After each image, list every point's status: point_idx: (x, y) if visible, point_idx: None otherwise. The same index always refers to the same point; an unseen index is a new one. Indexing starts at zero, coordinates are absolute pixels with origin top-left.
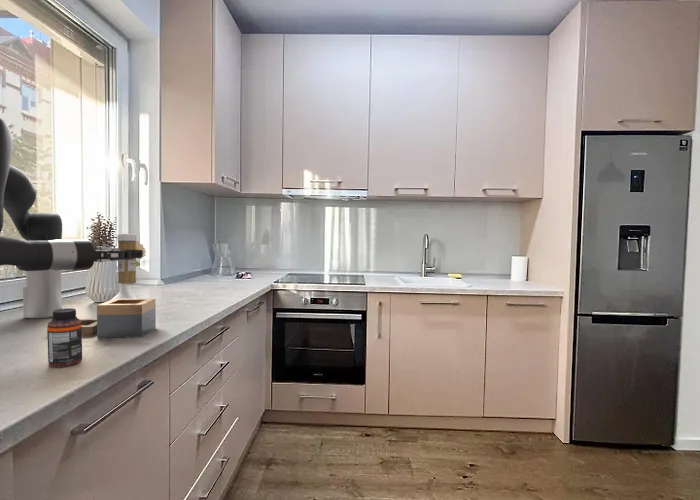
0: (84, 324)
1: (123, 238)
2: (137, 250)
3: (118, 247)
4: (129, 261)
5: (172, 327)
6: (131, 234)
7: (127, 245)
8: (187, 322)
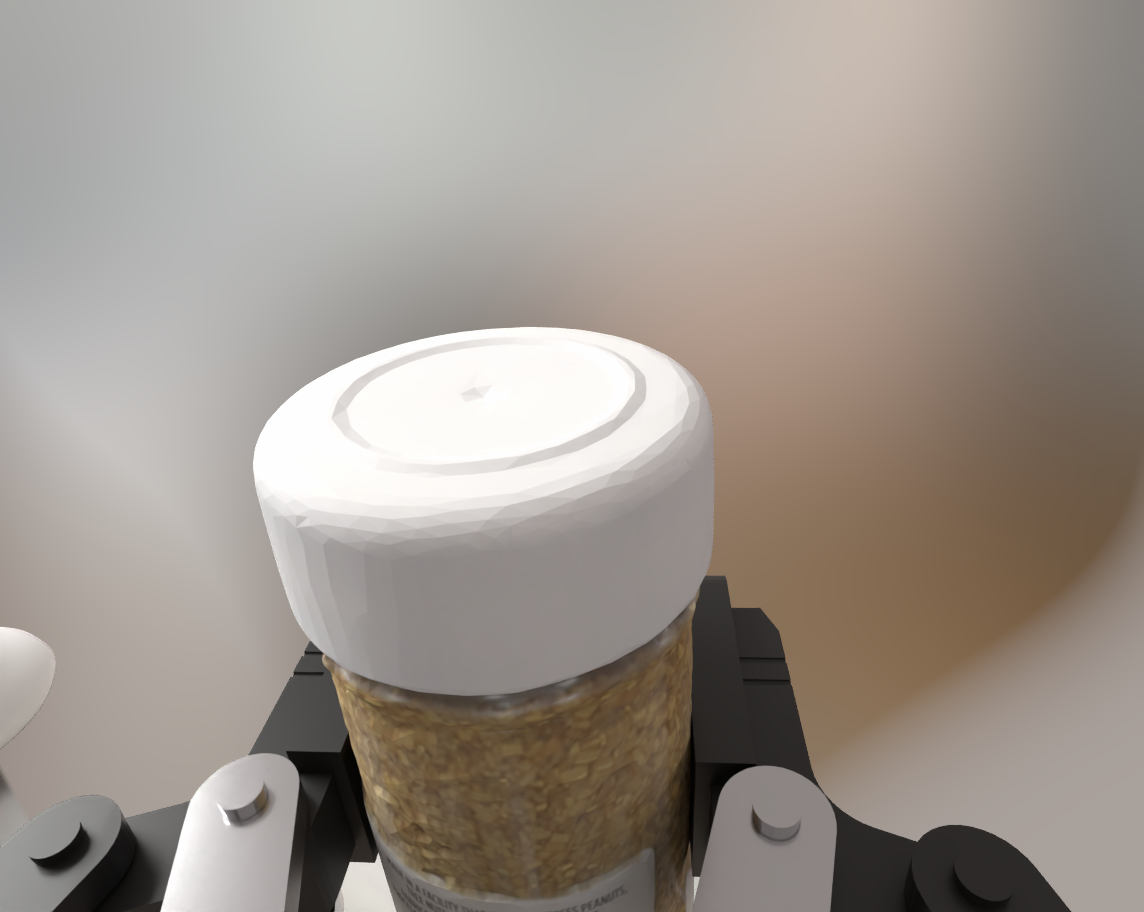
0: None
1: (633, 604)
2: (730, 633)
3: (444, 814)
4: (693, 884)
5: (695, 877)
6: (705, 398)
7: (677, 686)
8: None
